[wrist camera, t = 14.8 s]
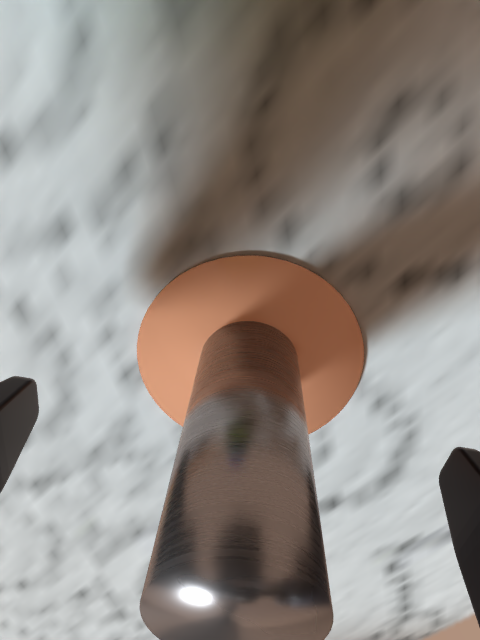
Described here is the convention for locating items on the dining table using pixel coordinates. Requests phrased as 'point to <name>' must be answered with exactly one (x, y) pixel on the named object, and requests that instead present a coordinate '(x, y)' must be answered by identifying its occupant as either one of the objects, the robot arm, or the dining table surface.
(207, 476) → the steel peg
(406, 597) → the dining table surface
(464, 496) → the robot arm
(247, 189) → the dining table surface
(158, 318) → the marker disc
